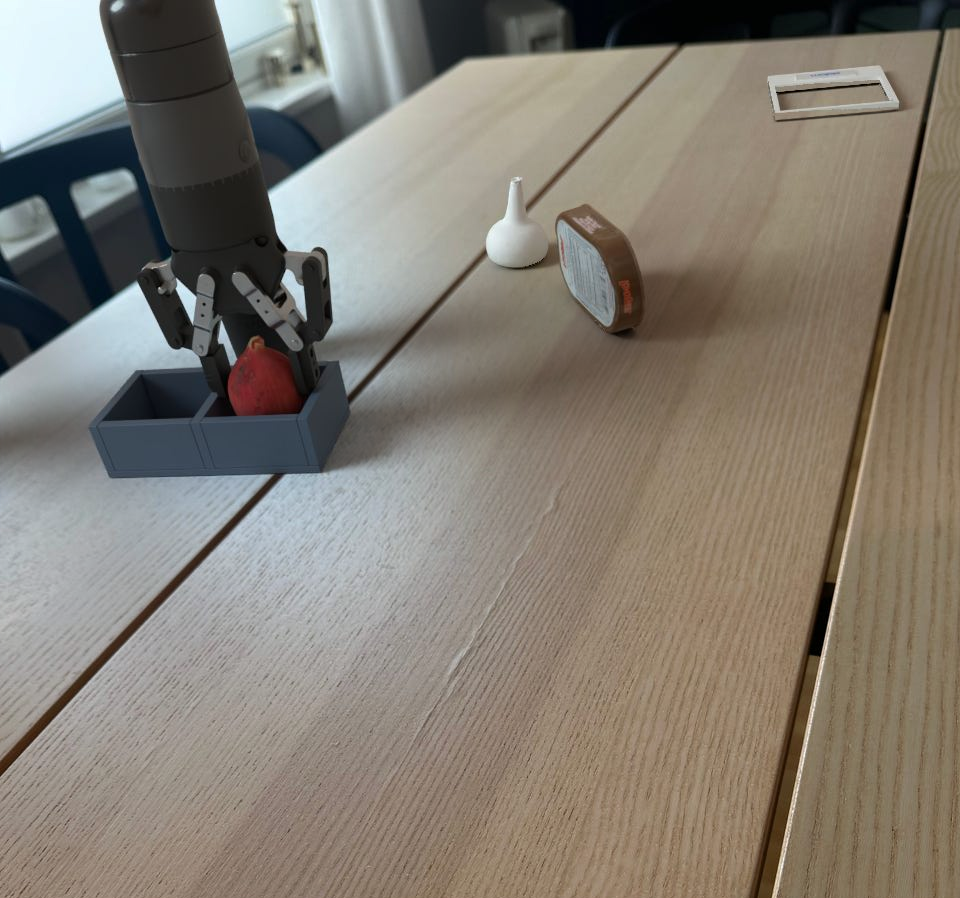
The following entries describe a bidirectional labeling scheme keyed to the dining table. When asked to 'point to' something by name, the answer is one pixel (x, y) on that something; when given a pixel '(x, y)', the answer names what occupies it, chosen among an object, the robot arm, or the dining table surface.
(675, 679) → the dining table surface
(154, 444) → the compartment box
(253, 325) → the drinking cup
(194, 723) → the dining table surface
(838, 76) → the photo frame
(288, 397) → the pomegranate
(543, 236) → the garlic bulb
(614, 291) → the tin
